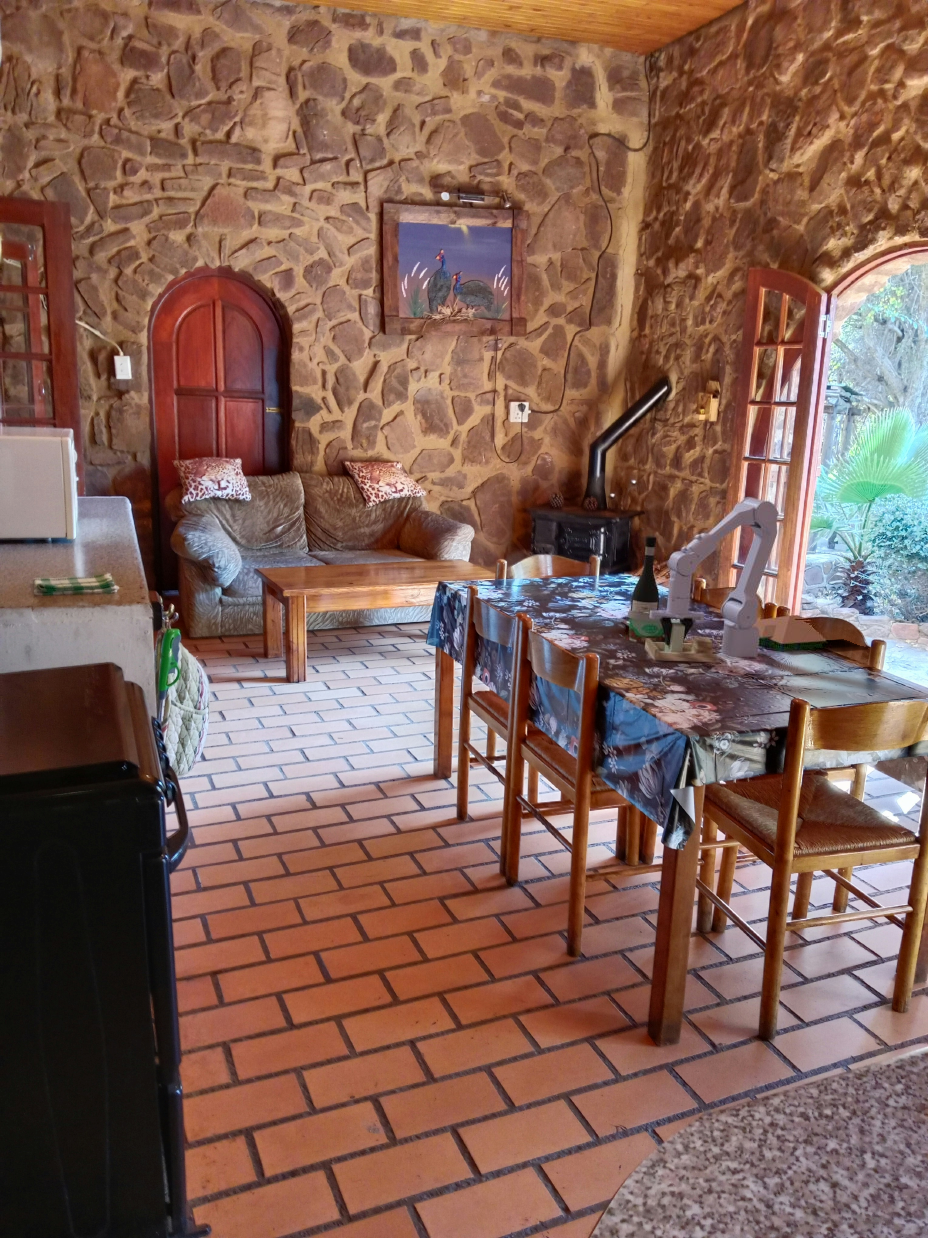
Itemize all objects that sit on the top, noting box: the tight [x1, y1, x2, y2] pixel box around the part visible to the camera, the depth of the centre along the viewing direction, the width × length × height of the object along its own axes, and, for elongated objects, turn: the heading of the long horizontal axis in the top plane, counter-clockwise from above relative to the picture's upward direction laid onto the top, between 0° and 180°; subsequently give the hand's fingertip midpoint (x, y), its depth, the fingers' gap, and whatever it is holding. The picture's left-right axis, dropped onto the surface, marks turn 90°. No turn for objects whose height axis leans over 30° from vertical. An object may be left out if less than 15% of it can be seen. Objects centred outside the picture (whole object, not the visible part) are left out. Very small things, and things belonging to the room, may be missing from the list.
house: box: [753, 614, 827, 652], centre depth 300 cm, size 23×33×8 cm
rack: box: [644, 638, 720, 663], centre depth 274 cm, size 18×11×4 cm, turn 93°
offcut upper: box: [693, 636, 713, 650], centre depth 273 cm, size 4×5×2 cm
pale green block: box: [664, 619, 685, 653], centre depth 273 cm, size 3×7×9 cm, turn 3°
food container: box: [626, 608, 667, 645], centre depth 285 cm, size 12×6×10 cm, turn 105°
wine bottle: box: [630, 535, 660, 612], centre depth 291 cm, size 8×8×30 cm
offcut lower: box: [691, 644, 714, 654], centre depth 274 cm, size 4×6×2 cm, turn 3°
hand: (673, 644), depth 273 cm, fingers closed on pale green block, 3 cm apart
